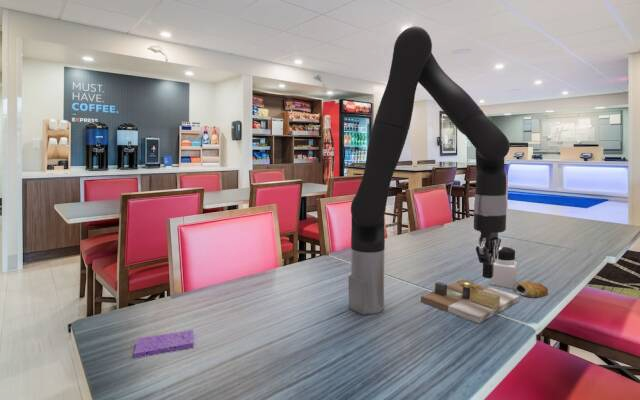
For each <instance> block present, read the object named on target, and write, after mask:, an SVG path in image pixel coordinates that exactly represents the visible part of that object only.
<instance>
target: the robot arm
mask: <svg viewBox="0 0 640 400" xmlns="http://www.w3.org/2000/svg"><path fill="white" fill-rule="evenodd" d="M432 50H433V42H432V38H431V36H430V34H429V33H428V32H427V31H426V30H425V29H424V28H423V27H421V26H416V25H415V26H410V27H408V28H406V29H404V30H403V31H402V32H401V33H400V34H398V36H397V38H396V40H395V42H394V46H393V52H392V59H391V65H390V70H389V76H388V78H387V79H388V80H387V84H386V86H385V88H384V92H383V95H382V96H381V100H380V102H379V106H378V109H377V112H376V115H375V118H374V121H373V125H372V128H371V131H370V136H369V141H368V146H367V150H366V158H365V166H364V172H363V175H362V177H361V181H360V184H359V187H358V189H357V191H356V194H355V195H354V196H353V198H352V200H351V203H350V214H351V235H350V236H351V237H350V275H348V309H351V310H352V311H355V312H357V313H359V314H360V315H372V314H373V315H374V314H378V313H381V312H383V311H384V308H385V242H386V241H385V238H386V237H385V215H386V209H387V208H386V207H387V201H388V196H389V191H390V185H391V181H392V178H393V176H394V173H395V170H396V169H397V165H398V163H399V160H400V159H401V155H402V153H403V149H404V147H405V144H406V140H407V137H408V134H409V130H410V127H411V122H412V116H413V111H414V104H415V96H416V90H417V87H418V84H420V85H421V86H422V87H423V89H425V91H426V92H428V94H429V95H430V96H431V97H432V99H433V100H434V101H435V102H436V104H437V105H438V106H439V108H440V109H441V110H442V112H443V113H444V114H445V115H446V117H448V119H449V120H450V122H451V123H452V124H453V125H454V126H455V127H456V129H457V130H458V131H459V132H460V133H461V134H462V135H464V136H465V137H466V139H468V141H469V142H470V143H471V145H472V146H473V147H474V148H475V164H476V165H475V166H476V177H475V197H474V204H473V229H474V230H475V231H477V232H479V233H480V237H479V238H478V245H479V246H478V245H477V246H476V247H475V251H476V255H477V259H478V261H479V263H480V264H482V277H483V278H484V279H489V280H490V279H491V278H492V277H493V267H494V264H493V263H495V259H497V255H498V251H499V247H501V242H502V240H501V238H500V237H499V233H503V232H505V231H506V229H507V210H508V209H507V208H508V207H507V206H508V205H507V175H506V173H505V158H506V156H507V155H508V154H509V151H510V146H511V145H510V141H509V139H508V138H507V137H508V136H506V135H505V134H504V132H503V131H502V130H501V129H500V128H499V127H498V126H497V125H496V124H495V123H494V122H493V121H492V120H491V119H490V118H488V117H487V115H486V114H485V113H484V111H483V110H482V109H481V107H479V105H478V104H477V103H476V101H475V100H474V99H473V98H472V96H470V94H468V93H467V92H466V90H464V88H462V87H461V86H460V85H458V83H456V82H455V81H454V80H453V79H452V78H451V77H450V76H449V75H448V74H446V72H445V71H444V70H443V69H442V67H441V66H440V64H439V62H438V61H437V59H436V58H435V56H434V53H432Z"/></svg>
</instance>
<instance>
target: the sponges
mask: <svg viewBox="0 0 640 400" xmlns="http://www.w3.org/2000/svg"><path fill="white" fill-rule="evenodd" d="M194 341H195V340H194V329H188V330H182V331H178V332H169V333H163V334H156V335H150V336H144V337H137V338H136V342H135V349H134V352H133V358H134V357H138V358H140V357H139V356H144V357H148V356H147V355H149V356H154V355H153V354H156V355H160V354H159V353H162V354H166V352H167V353H172V352H171V351H173V352H177V351H176V350H179V351H184V350H183V349H185V350H190V349H189V348H191V349H194V348H195V346H194ZM145 355H146V356H145Z"/></svg>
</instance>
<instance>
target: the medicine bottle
mask: <svg viewBox="0 0 640 400" xmlns="http://www.w3.org/2000/svg"><path fill="white" fill-rule="evenodd" d="M515 258H516V250H515V249H513V248H511V247H509V246H508V247H507V246H500V247H499V251H498V255H497V259H495V263H493V264H494V267H493V277H492V278H491V279H489V284H490V286H497V287H501V288H508V289H514V287H515V285H516V284H517V272H518V262H517V261H515V260H516V259H515Z"/></svg>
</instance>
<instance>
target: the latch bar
mask: <svg viewBox="0 0 640 400" xmlns="http://www.w3.org/2000/svg"><path fill="white" fill-rule="evenodd" d="M459 281H460V286H461V287H464V288H471V291H470V300H471V301H474V302H477V303H480V304H483V305H486V306H489V307H492V308H496V307H498V306H499V305H500V296H499V295H496V294H492V293H489V292H486V291H483V290H479V289H478V285H477V284H478V283H476V284H474V283H475V282H474V281H472V280H468V279H461V280H459Z"/></svg>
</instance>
